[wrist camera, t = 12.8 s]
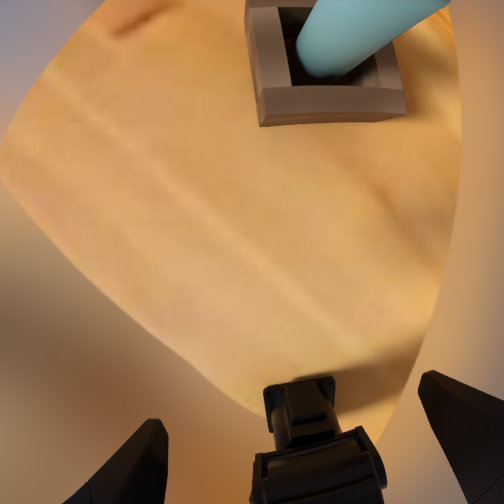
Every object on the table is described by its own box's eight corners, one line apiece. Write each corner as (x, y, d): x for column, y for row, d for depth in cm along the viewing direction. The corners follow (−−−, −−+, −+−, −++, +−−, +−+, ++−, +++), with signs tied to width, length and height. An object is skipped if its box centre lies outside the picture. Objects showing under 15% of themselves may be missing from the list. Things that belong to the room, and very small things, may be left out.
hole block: (374, 122, 18) (406, 114, 14) (259, 127, 18) (266, 115, 13) (354, 23, 16) (378, -2, 11) (244, 21, 15) (246, -11, 11)
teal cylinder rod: (332, 97, 17) (455, 26, 5) (281, 83, 17) (350, -28, 5) (339, 55, 16) (447, -37, 4) (290, 40, 16) (355, -83, 4)
